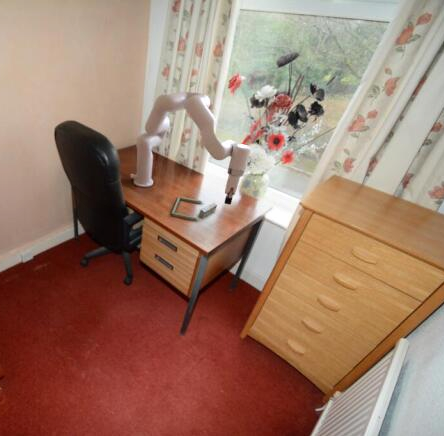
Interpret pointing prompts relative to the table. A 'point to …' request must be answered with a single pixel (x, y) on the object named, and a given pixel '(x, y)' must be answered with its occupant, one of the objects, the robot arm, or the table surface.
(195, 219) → the frame
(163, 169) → the table surface
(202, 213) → the grey elongated block
